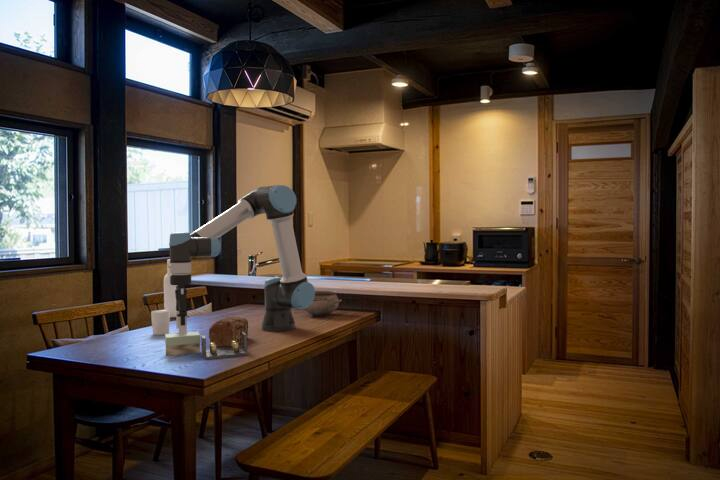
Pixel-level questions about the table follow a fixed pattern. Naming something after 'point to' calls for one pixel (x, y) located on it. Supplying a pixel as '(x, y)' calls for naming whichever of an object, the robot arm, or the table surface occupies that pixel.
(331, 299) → the cooking pot
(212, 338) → the bread
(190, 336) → the board
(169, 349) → the stand
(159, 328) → the white cup
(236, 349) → the chassis
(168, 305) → the bottle
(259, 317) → the table surface
